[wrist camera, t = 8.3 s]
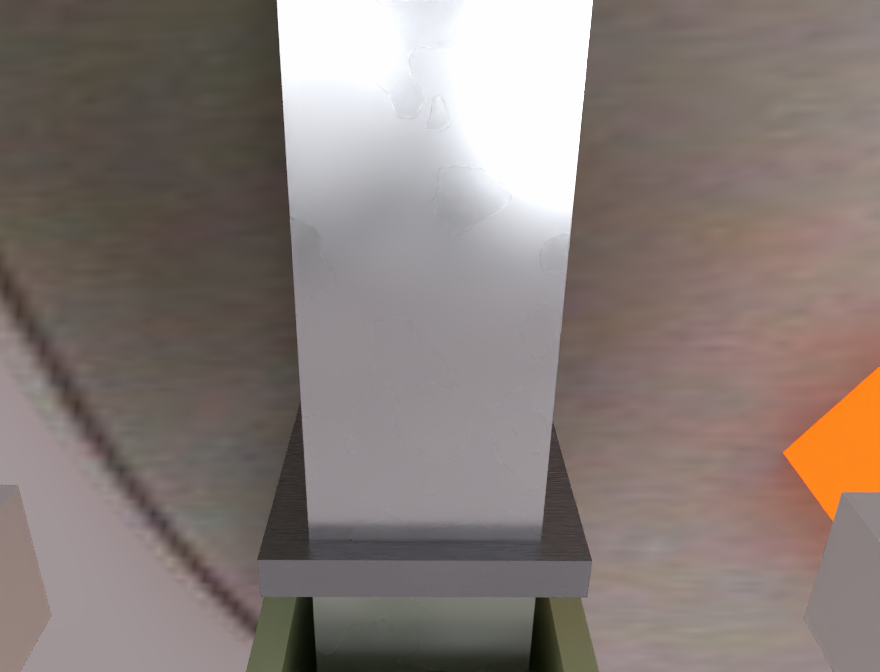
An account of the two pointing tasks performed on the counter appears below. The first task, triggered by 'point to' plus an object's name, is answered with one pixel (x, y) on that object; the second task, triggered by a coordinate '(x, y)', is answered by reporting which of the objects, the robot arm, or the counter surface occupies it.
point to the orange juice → (842, 447)
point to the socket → (294, 651)
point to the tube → (428, 327)
